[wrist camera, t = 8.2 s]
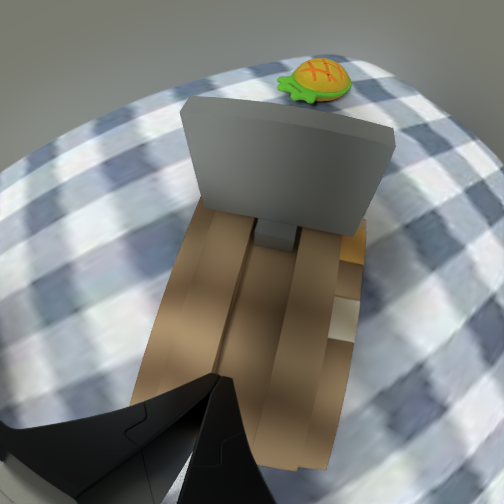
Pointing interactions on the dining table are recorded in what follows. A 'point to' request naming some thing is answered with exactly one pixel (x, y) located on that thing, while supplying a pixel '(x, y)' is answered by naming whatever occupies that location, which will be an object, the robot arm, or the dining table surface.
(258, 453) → the switch base
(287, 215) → the switch lever
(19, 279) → the dining table surface
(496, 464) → the dining table surface
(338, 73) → the toy pineapple
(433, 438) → the dining table surface
